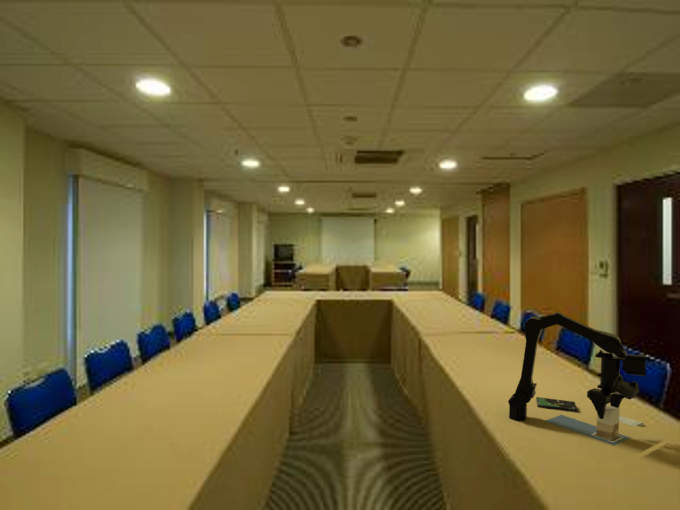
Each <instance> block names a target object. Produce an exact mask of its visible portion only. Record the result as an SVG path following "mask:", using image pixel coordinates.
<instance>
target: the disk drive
mask: <svg viewBox="0 0 680 510" xmlns="http://www.w3.org/2000/svg"><path fill="white" fill-rule="evenodd" d="M535 399H536V405H537V408H540V409H548V410H549V409H550V410H556V411H563V412H570V413H571V412H572V413H579V412H578V411H579V409H578V407H577V405H576V402H575V401H572V400H563V399H555V398H549V397H548V398H546V397H536V398H535Z"/></svg>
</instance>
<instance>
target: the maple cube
mask: <svg viewBox="0 0 680 510" xmlns="http://www.w3.org/2000/svg"><path fill="white" fill-rule="evenodd" d="M596 426H597V431H596V435H597V436H600V437H603V438H606V439H608V440H613V439H616V438H618V435H619V434H620V433H619V430H620V429H619V427H620V422H619V423H618V424H615V425H613V426H611V425H608V424H605V423H601V422H598V421H597V420H596Z"/></svg>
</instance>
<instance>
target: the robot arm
mask: <svg viewBox="0 0 680 510" xmlns="http://www.w3.org/2000/svg"><path fill="white" fill-rule="evenodd" d="M556 325H558V326H559V327H562V328H565V329H566V330H567V331H570V332H573V333H574V334H576V335H578V336H581V337H583V338H585V339H587V340H589V341H591V342H592V343H593V344H595V346H597V347H598V348H600V350H599V351H598V352H596V353H595V355H594V357H595V358H598V359H599V358H600V372H598V374H597V376H598V377H599V378H600V380H599V384H597V388H592V389H589V390H587V391H586V398H588V399H589V400H590V401H591V403H592V404H593V407H594V410H595V411H596V415H597V414H598V416H599V418H600V419H603V418H604V414H605V409H606V405H609V406H613V407H616V408H619V409H620V405H621V404H622V401H623V400H624V399H627V400H632V399H635V398H636V396H637V395H638V393H640V388H639V383H637V381H631V382H629V381H625V380H624V377H623V375H622V374H621V373H620V372H621V370H622V371H623V372H624V373H625V375H631V376H632V375H633V376H639V377H646V372H647V367H646V355H644V354H638V355H637V354H629V353H628V352H627V351H626V349H625V348H624V347H623V346H622V341H621V338H620V337H619V336H618V335H616V334H614V333H610V332H606V331H603V330H599V329H595V328H593V327H591V326H588V325H586V324H584V323H582V322H580V321H577V320H576V319H573V318H571V317H569V316H567V315H564V314H563V313H562V312H559V311H557V312H554V313H551V314H547V315H544V316H541V317H540V316H531V317H529V318H528V319H527V320H526V321H525V323H524V335H525V347H524V352H523V353H524V354H523V360H522V367H521V374H520V375H521V376H520V378H519V380H518V381H519V382H518V383H517V386H516V389H515V392H514V393H513V394H512V395H511V397H510V398H509V399H508V400H507V401H508V405H509V408H508V409H509V410H508V411H509V413H508V418H509V419H510V420H512V421H515V422H524V421H526V420H527V417H528V416H527V413H528V412H527V411H528V403H530V402H531V400H532V399H534V397H535V395H536V393H537V392H536V389H537V385H538V384H537V383H536V382H534V381H533V379H534V378H533V375H534V368H535V362H536V355H537V349H538V342H539V340H540V338H541V335H542V332H543V330H544V329H547V328H550V327H552V326H556ZM621 362H622V364H621ZM621 365H622V369H621Z"/></svg>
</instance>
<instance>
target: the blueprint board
mask: <svg viewBox="0 0 680 510" xmlns="http://www.w3.org/2000/svg"><path fill="white" fill-rule="evenodd" d="M544 422H546V423H549V424H551V425H554V426H556V427H560V428H562V429H566V430H569V431H571V432H574V433H577V434H580V435H583V436H585V437H588V438H590V439H594V440H597V441H599V442H603V443H606V444H608V445H611V446H613V447H614V446H616V445H620V444H621V443H623V442H625V441H627V440H629V439H631V438H632V437H630V436H628V435H624V434H621V433H619V435H618V438H616V439H613V440H608V439H606V438H603V437H600V436H597V435H596V431H597V425H594V424H592V423H588V422H585V421H581V420H579V419H576V418H572V417H569V416H566V415H564V414H560V415H557V416H554V417H551V418H549V419H545V420H544Z"/></svg>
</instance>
